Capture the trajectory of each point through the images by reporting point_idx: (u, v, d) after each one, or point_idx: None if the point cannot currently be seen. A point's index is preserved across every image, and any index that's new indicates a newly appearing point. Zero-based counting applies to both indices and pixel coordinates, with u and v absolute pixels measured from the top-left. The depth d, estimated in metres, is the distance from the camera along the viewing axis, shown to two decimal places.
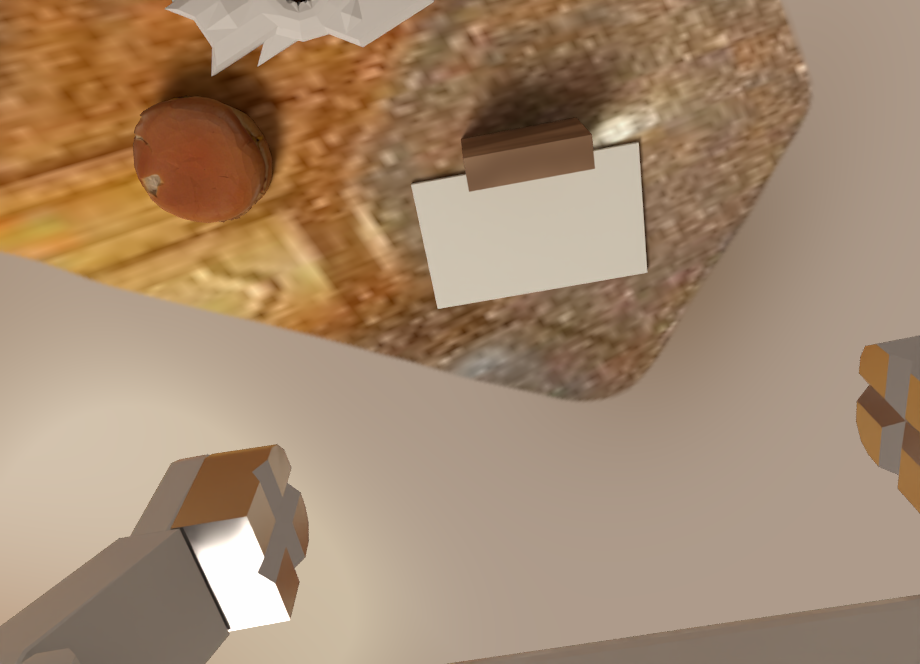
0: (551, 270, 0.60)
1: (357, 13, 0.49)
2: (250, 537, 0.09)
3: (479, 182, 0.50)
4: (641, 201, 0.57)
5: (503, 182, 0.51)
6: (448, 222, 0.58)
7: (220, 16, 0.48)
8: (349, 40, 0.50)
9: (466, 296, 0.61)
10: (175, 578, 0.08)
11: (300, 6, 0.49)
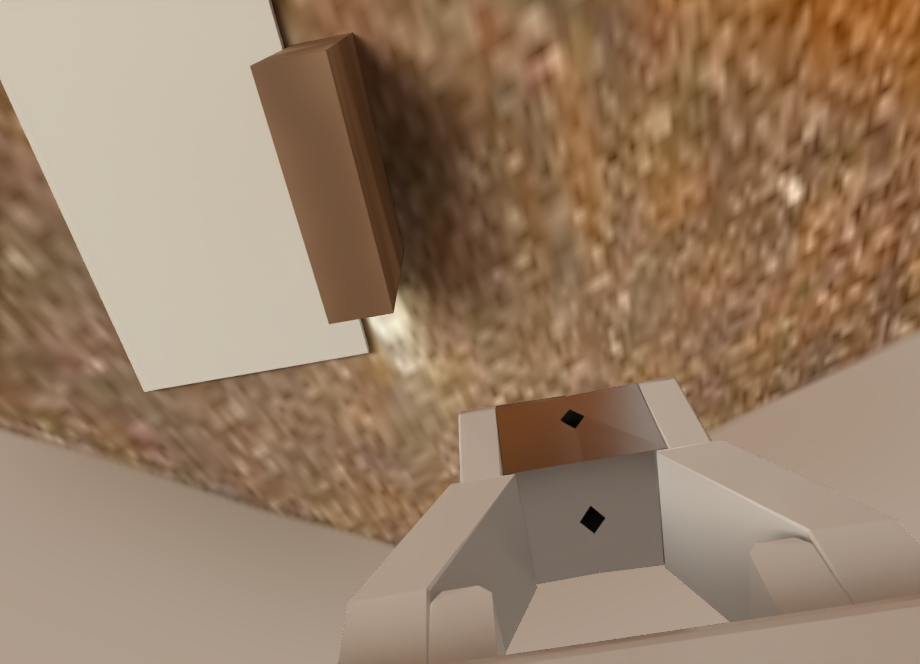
0: (109, 228, 0.30)
1: None
2: (581, 484, 0.08)
3: (275, 90, 0.22)
4: (270, 367, 0.34)
5: (281, 145, 0.23)
6: (171, 5, 0.26)
7: None
8: None
9: (4, 49, 0.27)
10: (511, 525, 0.08)
11: None
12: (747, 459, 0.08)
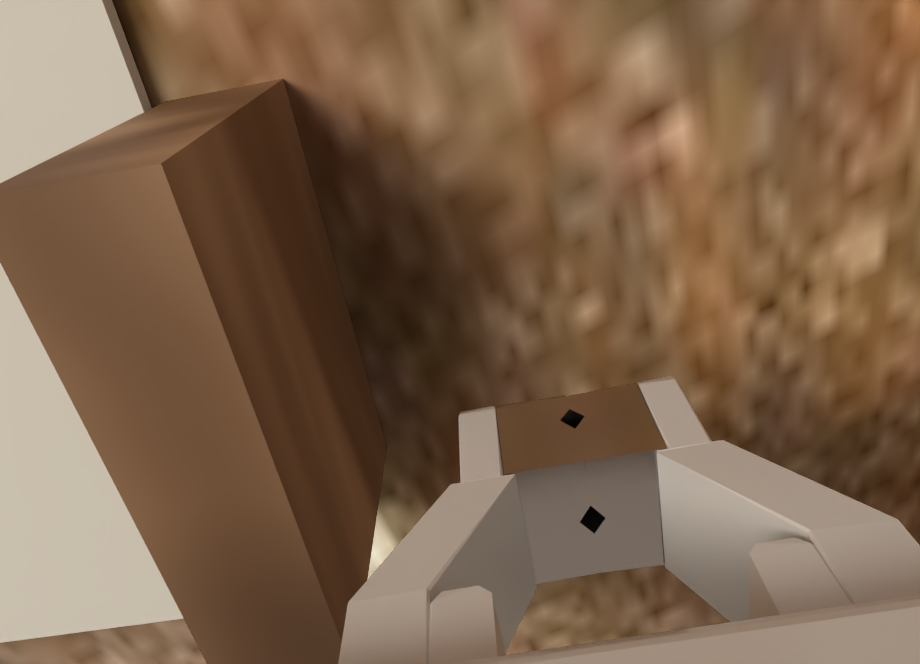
0: None
1: None
2: (581, 484, 0.08)
3: (41, 256, 0.09)
4: (164, 617, 0.20)
5: (75, 376, 0.10)
6: None
7: None
8: None
9: None
10: (511, 525, 0.08)
11: None
12: (747, 459, 0.08)
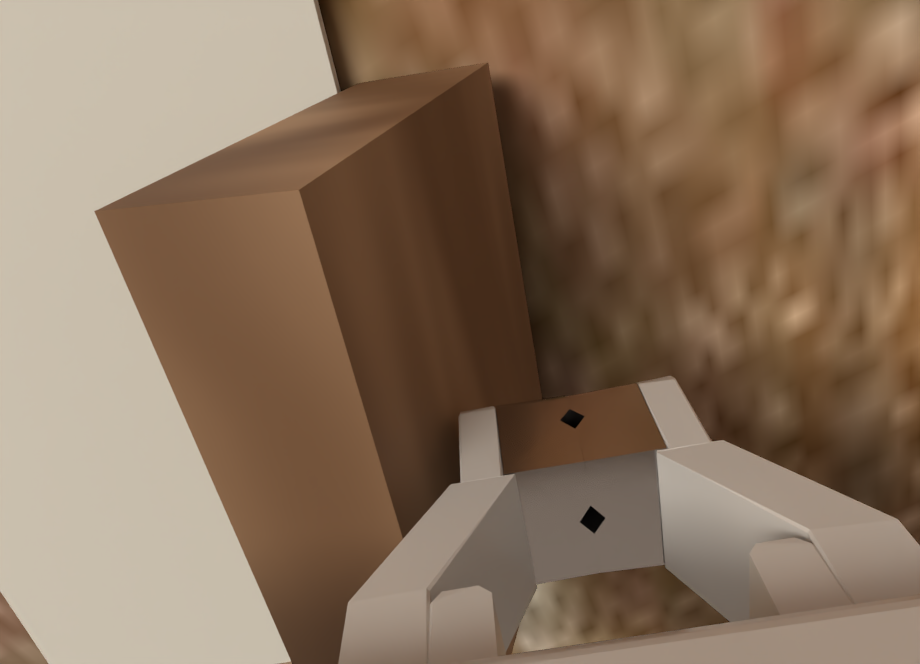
0: None
1: None
2: (581, 484, 0.08)
3: (167, 282, 0.07)
4: None
5: (198, 416, 0.08)
6: None
7: None
8: None
9: None
10: (511, 525, 0.08)
11: None
12: (747, 459, 0.08)
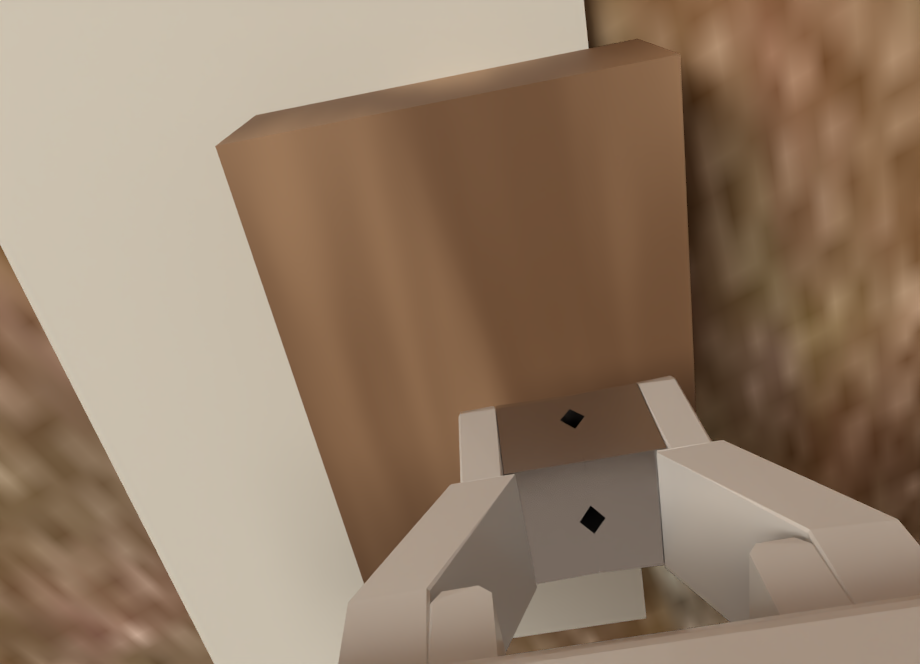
0: (171, 417, 0.15)
1: None
2: (581, 483, 0.08)
3: None
4: None
5: None
6: None
7: None
8: None
9: None
10: (511, 525, 0.08)
11: None
12: (747, 459, 0.08)
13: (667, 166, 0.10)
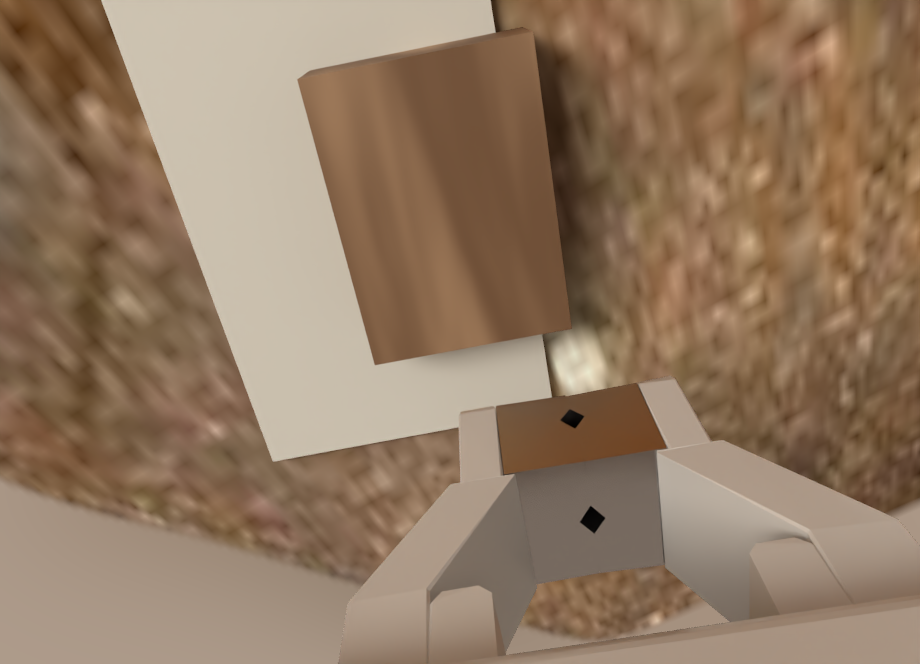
0: (250, 262, 0.24)
1: None
2: (581, 484, 0.08)
3: None
4: (431, 429, 0.27)
5: None
6: None
7: None
8: None
9: (137, 34, 0.21)
10: (511, 525, 0.08)
11: None
12: (747, 459, 0.08)
13: (531, 90, 0.20)
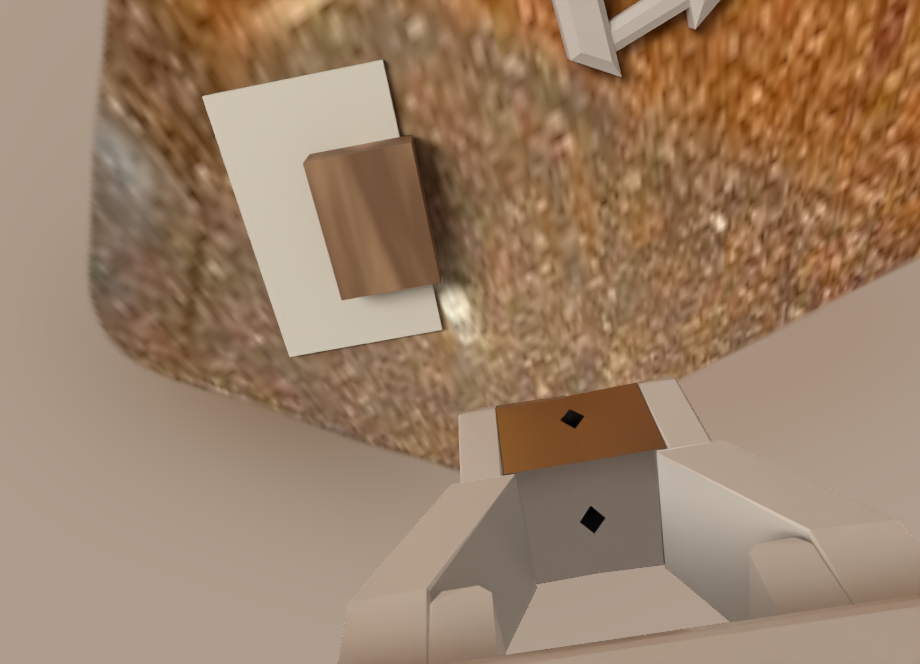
0: (278, 247, 0.47)
1: None
2: (581, 484, 0.08)
3: None
4: (375, 340, 0.50)
5: None
6: (333, 112, 0.43)
7: None
8: None
9: (226, 137, 0.44)
10: (511, 525, 0.08)
11: None
12: (747, 459, 0.08)
13: (412, 168, 0.42)
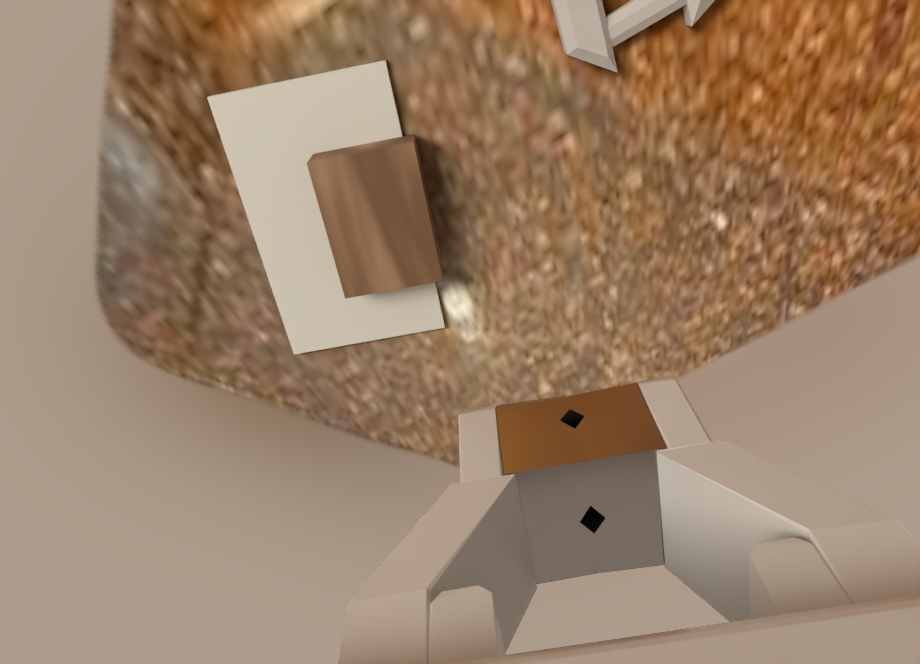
0: (283, 246, 0.47)
1: None
2: (581, 484, 0.08)
3: None
4: (379, 337, 0.51)
5: None
6: (336, 112, 0.44)
7: None
8: None
9: (231, 137, 0.44)
10: (511, 525, 0.08)
11: None
12: (747, 459, 0.08)
13: (414, 167, 0.43)
